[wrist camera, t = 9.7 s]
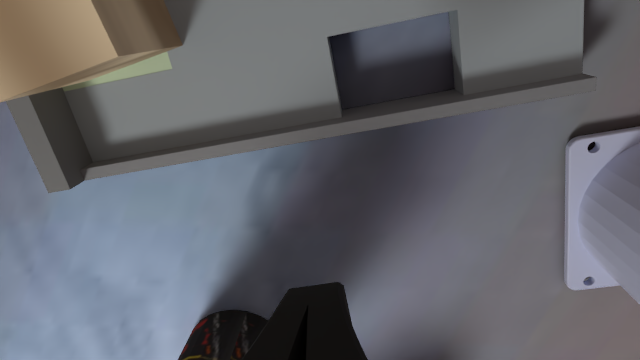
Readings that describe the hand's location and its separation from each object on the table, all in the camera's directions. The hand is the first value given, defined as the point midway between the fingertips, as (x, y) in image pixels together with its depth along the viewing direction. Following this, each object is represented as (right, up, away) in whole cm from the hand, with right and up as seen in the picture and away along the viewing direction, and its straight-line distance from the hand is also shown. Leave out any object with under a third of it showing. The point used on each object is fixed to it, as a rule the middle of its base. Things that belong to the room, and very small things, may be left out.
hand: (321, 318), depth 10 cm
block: (-8, +10, +6) cm, 15 cm away
